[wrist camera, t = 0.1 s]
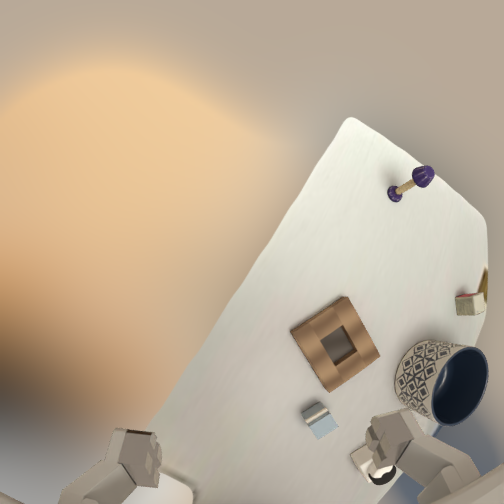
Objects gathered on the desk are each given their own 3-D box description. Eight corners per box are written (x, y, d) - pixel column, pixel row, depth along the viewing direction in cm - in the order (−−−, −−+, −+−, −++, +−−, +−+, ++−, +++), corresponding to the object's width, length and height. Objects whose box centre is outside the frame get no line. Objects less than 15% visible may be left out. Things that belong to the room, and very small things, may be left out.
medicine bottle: (382, 455, 59) (403, 475, 47) (358, 470, 58) (376, 493, 47) (373, 438, 60) (395, 458, 48) (349, 454, 59) (367, 476, 47)
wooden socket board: (374, 354, 63) (380, 356, 60) (325, 389, 62) (329, 392, 59) (342, 296, 65) (347, 296, 62) (290, 331, 63) (292, 333, 60)
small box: (467, 311, 66) (485, 311, 59) (456, 315, 66) (475, 315, 58) (464, 293, 67) (483, 292, 59) (454, 297, 67) (473, 296, 59)
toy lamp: (404, 202, 70) (441, 179, 53) (390, 206, 69) (426, 183, 53) (397, 184, 70) (432, 159, 54) (383, 188, 70) (417, 161, 53)
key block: (327, 413, 61) (338, 426, 53) (309, 425, 60) (317, 439, 52) (318, 399, 61) (328, 411, 53) (299, 411, 61) (307, 424, 53)
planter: (438, 406, 62) (475, 423, 46) (385, 407, 62) (420, 429, 45) (454, 342, 65) (495, 348, 49) (403, 336, 64) (443, 343, 48)
